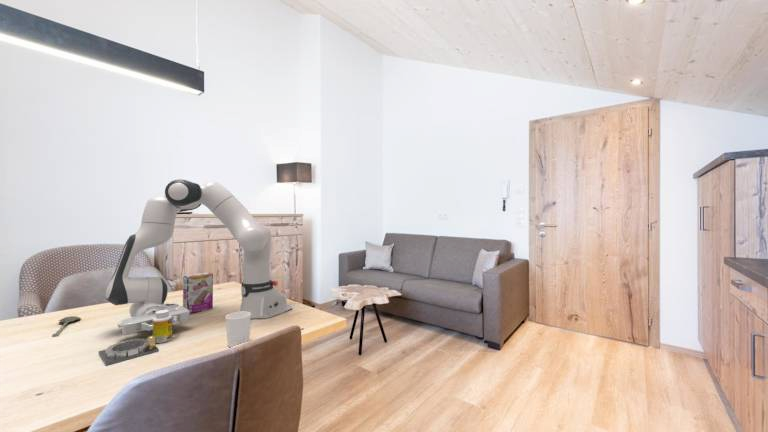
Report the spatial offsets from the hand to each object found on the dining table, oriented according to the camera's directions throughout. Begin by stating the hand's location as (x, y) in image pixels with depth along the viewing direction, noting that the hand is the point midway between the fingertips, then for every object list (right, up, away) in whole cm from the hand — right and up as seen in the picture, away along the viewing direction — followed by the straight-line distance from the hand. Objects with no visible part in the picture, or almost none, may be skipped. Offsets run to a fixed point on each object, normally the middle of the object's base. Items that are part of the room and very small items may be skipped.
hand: (163, 325), depth 112 cm
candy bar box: (-7, -5, +34) cm, 35 cm away
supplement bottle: (-1, -6, +1) cm, 6 cm away
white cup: (+27, -6, -2) cm, 28 cm away
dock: (-5, -6, -9) cm, 12 cm away
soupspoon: (-47, -6, +13) cm, 49 cm away
